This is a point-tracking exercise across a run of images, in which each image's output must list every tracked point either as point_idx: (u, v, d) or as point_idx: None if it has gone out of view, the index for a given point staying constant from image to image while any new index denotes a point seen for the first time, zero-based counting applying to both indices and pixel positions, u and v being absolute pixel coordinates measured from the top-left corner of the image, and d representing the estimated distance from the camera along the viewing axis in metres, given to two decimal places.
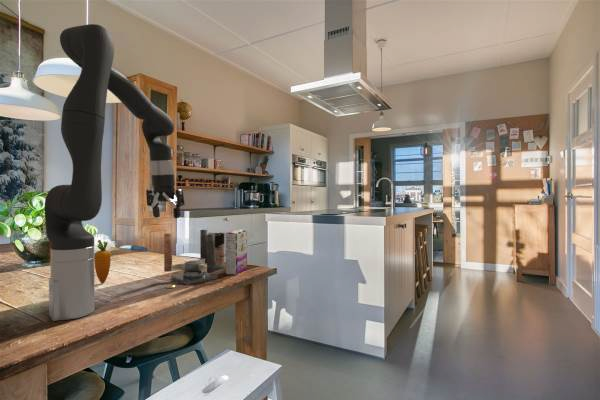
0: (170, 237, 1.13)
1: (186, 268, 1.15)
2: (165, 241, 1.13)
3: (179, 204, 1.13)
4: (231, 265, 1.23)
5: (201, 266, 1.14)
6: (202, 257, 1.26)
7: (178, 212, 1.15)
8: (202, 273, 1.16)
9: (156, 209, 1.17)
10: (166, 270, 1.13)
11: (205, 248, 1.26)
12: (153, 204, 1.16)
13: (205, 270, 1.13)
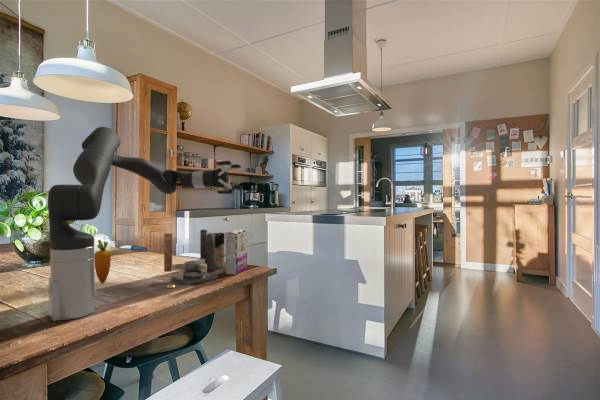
0: (170, 237, 1.13)
1: (186, 268, 1.15)
2: (165, 241, 1.13)
3: (228, 161, 1.38)
4: (231, 265, 1.23)
5: (201, 266, 1.14)
6: (202, 257, 1.26)
7: None
8: (202, 273, 1.16)
9: (234, 186, 1.38)
10: (166, 270, 1.13)
11: (205, 248, 1.26)
12: (229, 186, 1.37)
13: (205, 270, 1.13)
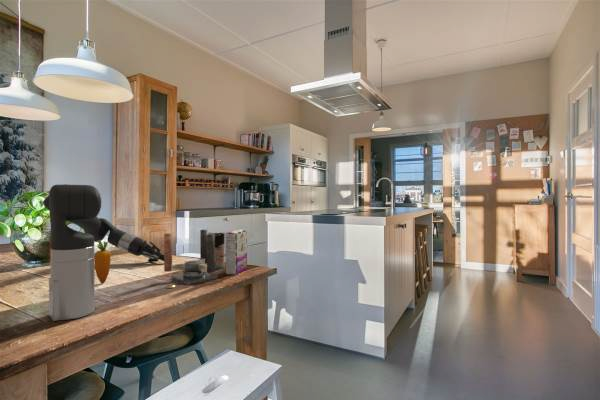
0: (170, 237, 1.13)
1: (186, 268, 1.15)
2: (165, 241, 1.13)
3: (155, 253, 1.40)
4: (231, 265, 1.23)
5: (201, 266, 1.14)
6: (202, 257, 1.26)
7: (163, 256, 1.41)
8: (202, 273, 1.16)
9: None
10: (166, 270, 1.13)
11: (205, 248, 1.26)
12: (155, 258, 1.42)
13: (205, 270, 1.13)
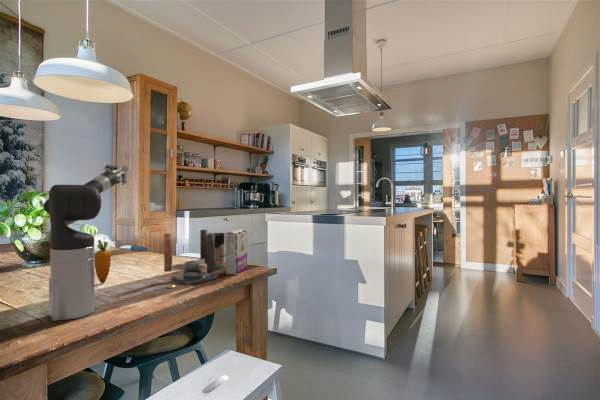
0: (170, 237, 1.13)
1: (186, 268, 1.15)
2: (165, 241, 1.13)
3: None
4: (231, 265, 1.23)
5: (201, 266, 1.14)
6: (202, 257, 1.26)
7: (125, 171, 1.70)
8: (202, 273, 1.16)
9: None
10: (166, 270, 1.13)
11: (205, 248, 1.26)
12: None
13: (205, 270, 1.13)
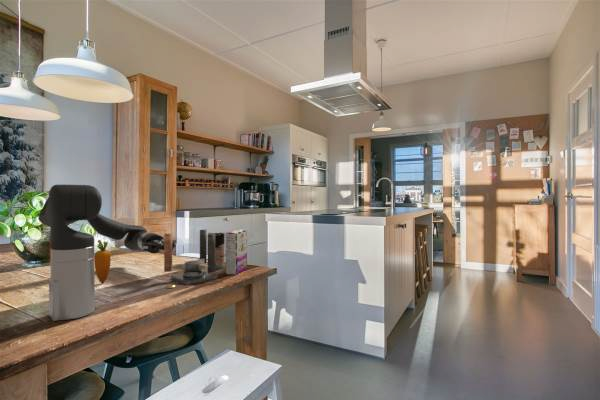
0: (170, 237, 1.13)
1: (186, 268, 1.15)
2: (165, 242, 1.13)
3: (156, 250, 1.17)
4: (231, 265, 1.23)
5: (201, 266, 1.15)
6: (201, 257, 1.26)
7: None
8: (202, 273, 1.16)
9: None
10: (166, 270, 1.13)
11: (204, 248, 1.26)
12: None
13: (206, 270, 1.13)
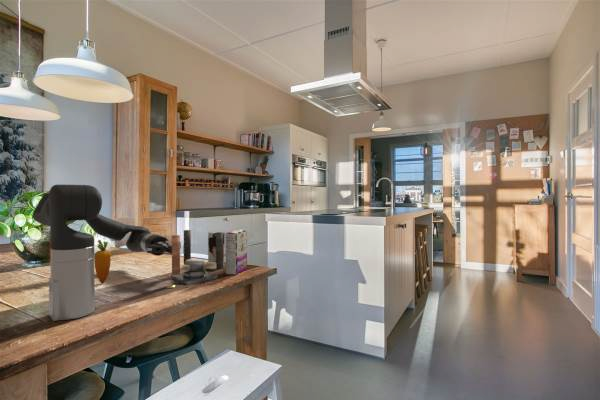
0: (179, 238, 1.10)
1: (192, 268, 1.15)
2: (175, 243, 1.08)
3: (160, 253, 1.12)
4: (231, 265, 1.23)
5: (208, 264, 1.18)
6: (188, 258, 1.24)
7: (168, 251, 1.11)
8: (202, 273, 1.16)
9: None
10: (177, 273, 1.09)
11: (190, 248, 1.25)
12: None
13: (214, 267, 1.18)
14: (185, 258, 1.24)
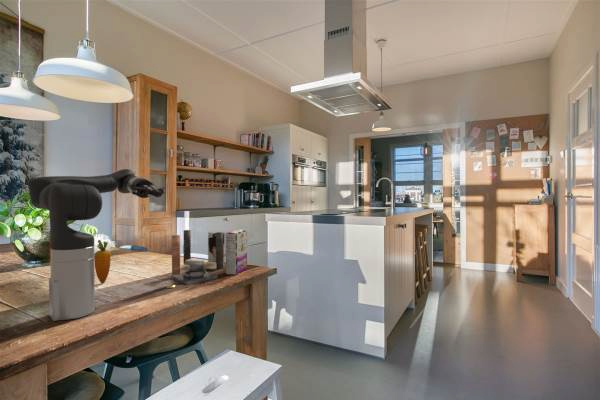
0: (179, 238, 1.10)
1: (192, 268, 1.15)
2: (175, 244, 1.08)
3: None
4: (231, 265, 1.23)
5: (208, 264, 1.18)
6: (187, 258, 1.24)
7: (152, 193, 1.18)
8: (202, 273, 1.16)
9: None
10: (177, 273, 1.09)
11: (190, 248, 1.25)
12: None
13: (214, 267, 1.18)
14: (185, 258, 1.24)
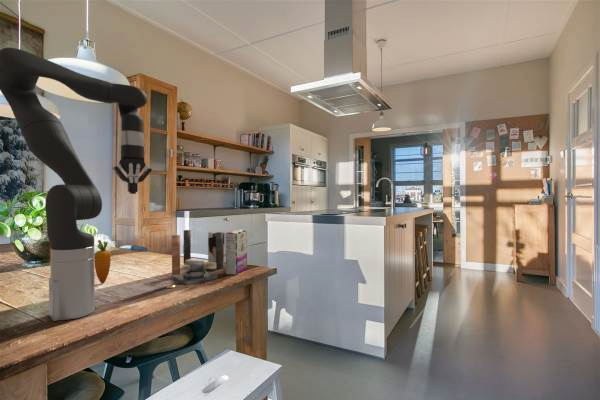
0: (179, 238, 1.10)
1: (192, 268, 1.15)
2: (175, 244, 1.08)
3: None
4: (231, 265, 1.23)
5: (208, 264, 1.18)
6: (187, 258, 1.24)
7: (128, 187, 1.14)
8: (202, 273, 1.16)
9: None
10: (177, 273, 1.09)
11: (190, 248, 1.25)
12: None
13: (214, 267, 1.18)
14: (185, 258, 1.24)
